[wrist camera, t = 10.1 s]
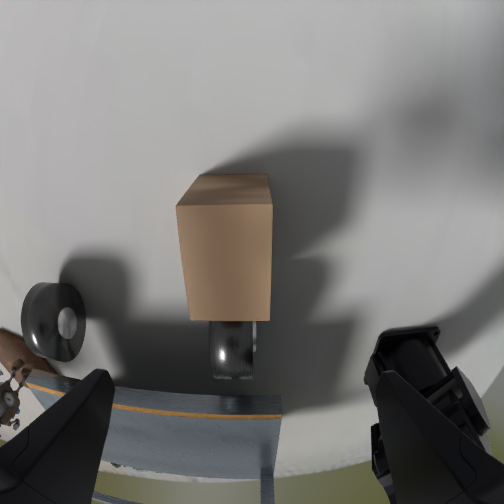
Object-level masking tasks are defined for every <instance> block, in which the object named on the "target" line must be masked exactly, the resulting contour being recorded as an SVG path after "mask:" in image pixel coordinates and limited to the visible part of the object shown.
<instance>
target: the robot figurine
mask: <svg viewBox="0 0 504 504" xmlns="http://www.w3.org/2000/svg"><path fill="white" fill-rule="evenodd" d="M0 362H1V363H2V365H3V366H4V367H5V368H6V369H7V371H8V372H9V373H10V374H11V377H10V379H9V380H8V381H5V382H0V427H1V424H3V425H6V426H11V424H12V423H15V422H16V423H15V424H14V425H13V426H14V427H13V429H14V430H17V428H18V427H19V426H20V423H19V422H20V421H19V419H15V421H12V422H10V420H11V418H12V419H13V418H14V416H15V414H19V413H20V410H19V408H18V407H19V405H20V400H19V398H18V395H19V394H18V392H19V390H20V388H21V387H23V386H25V387H27V388H29V387H28V385H27V384H26V382H25V381H26V379H27V378H28V376H29V374H30V373H31V371H32V369H37V370H41V371H44V372H48V373H53V374H57V375H59V374H58V373H57V372H56V371H55V370H54V369H53V368H52V366H51V365H50V364H49V363H48V362H47V360H46V359H45V358H43V357H39V356H37V355H35V354H34V353H33V352H32V351H31V350H30V349H29V347H28V346H27V344H26V342H25V339H22V338H20V337H18V336H15V335H13V334H11V333H9V332H6V331H4V330H2V329H0ZM0 375H3V372H2V371H1V370H0ZM12 378H14V379H15V380H16V381H17V382H18V383H19V387H18V389H17V390H16V391H13V390H12V388H11V387H10V382H11V380H12ZM29 389H30V388H29ZM0 437H1V435H0Z"/></svg>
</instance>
